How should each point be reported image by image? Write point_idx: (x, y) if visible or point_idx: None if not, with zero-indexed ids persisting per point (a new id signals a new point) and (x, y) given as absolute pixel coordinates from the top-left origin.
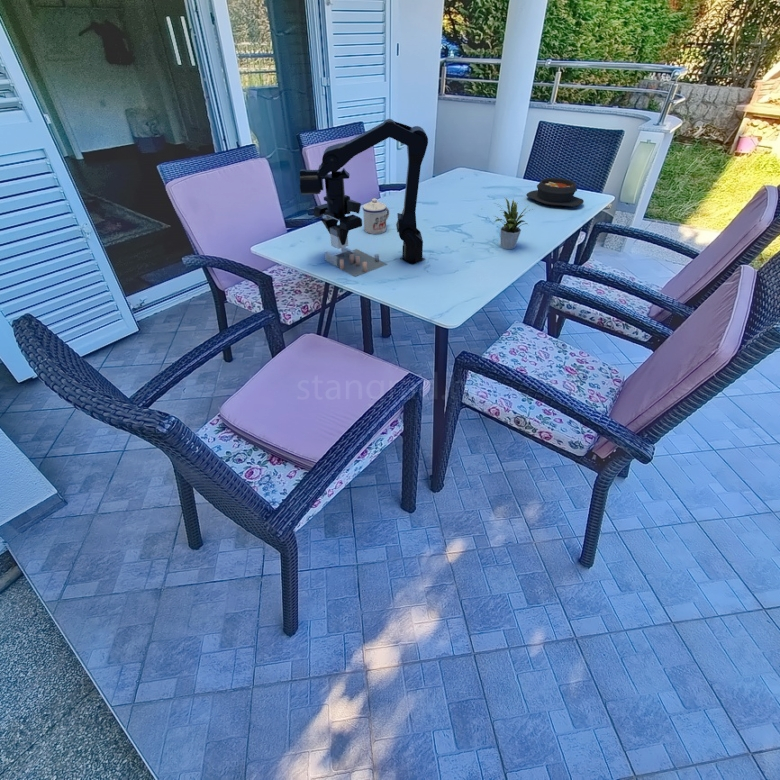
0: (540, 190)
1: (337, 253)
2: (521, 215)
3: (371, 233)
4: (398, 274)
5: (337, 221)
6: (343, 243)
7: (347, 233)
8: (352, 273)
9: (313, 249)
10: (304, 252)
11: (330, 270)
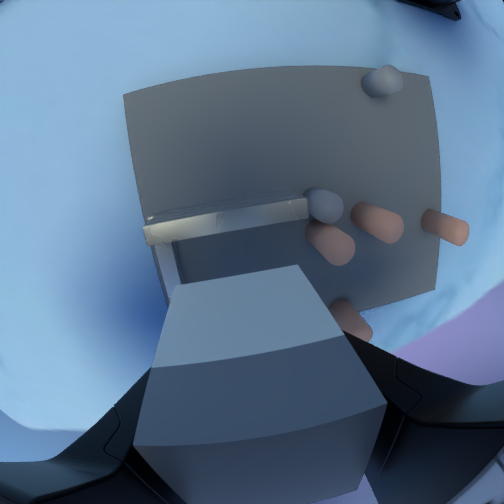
0: None
1: (162, 268)
2: None
3: None
4: (487, 112)
5: (101, 493)
6: None
7: (415, 372)
8: (409, 285)
9: (25, 313)
10: (48, 357)
11: None
